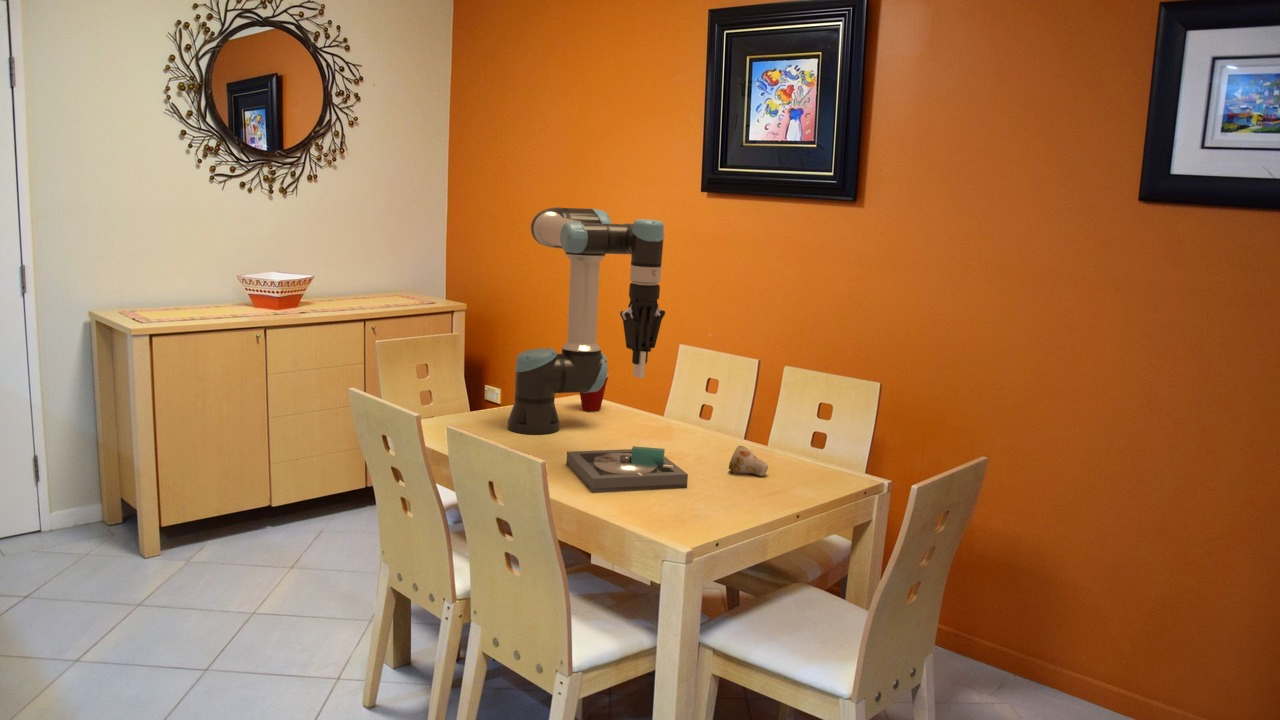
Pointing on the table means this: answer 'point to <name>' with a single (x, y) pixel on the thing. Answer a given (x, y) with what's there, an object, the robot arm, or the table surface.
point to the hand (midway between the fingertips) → (638, 376)
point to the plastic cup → (593, 398)
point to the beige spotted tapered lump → (747, 462)
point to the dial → (630, 461)
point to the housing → (663, 479)
